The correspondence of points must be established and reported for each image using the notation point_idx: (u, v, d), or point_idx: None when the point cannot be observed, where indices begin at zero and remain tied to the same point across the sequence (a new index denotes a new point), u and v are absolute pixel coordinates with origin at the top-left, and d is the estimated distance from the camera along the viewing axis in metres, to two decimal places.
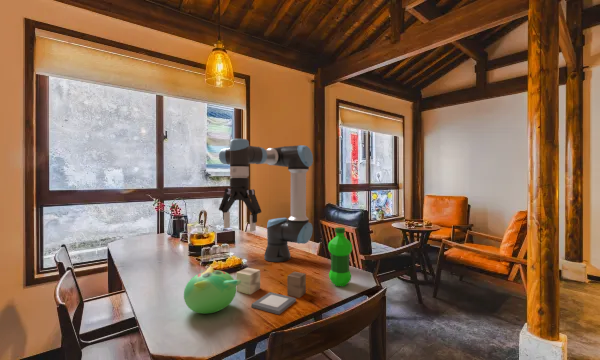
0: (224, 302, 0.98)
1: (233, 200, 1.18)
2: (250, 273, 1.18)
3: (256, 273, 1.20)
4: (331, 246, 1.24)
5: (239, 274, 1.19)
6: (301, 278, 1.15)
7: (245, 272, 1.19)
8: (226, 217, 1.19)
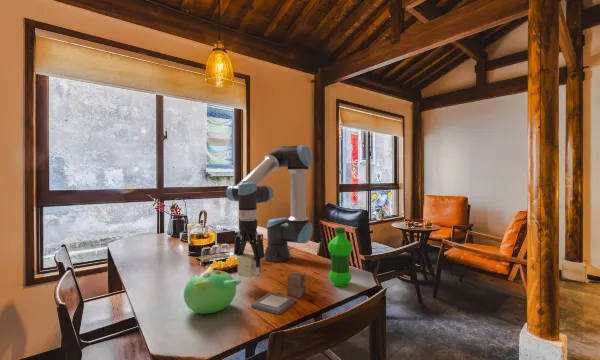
0: (224, 302, 0.98)
1: (245, 242, 1.22)
2: (251, 257, 1.19)
3: None
4: (331, 246, 1.24)
5: (240, 258, 1.19)
6: (301, 278, 1.15)
7: (246, 256, 1.20)
8: None
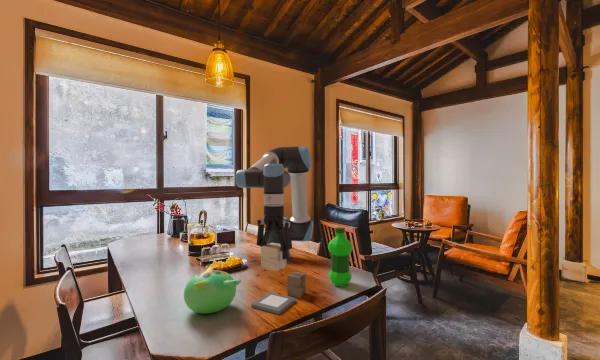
0: (224, 302, 0.98)
1: (269, 231, 1.08)
2: (277, 247, 1.05)
3: None
4: (331, 246, 1.24)
5: (264, 248, 1.05)
6: (301, 278, 1.15)
7: (271, 246, 1.06)
8: None
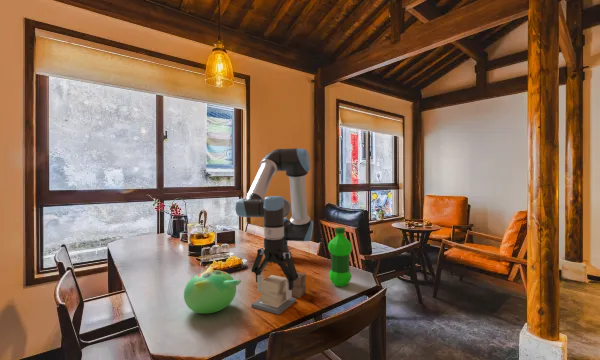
0: (224, 302, 0.98)
1: (267, 262, 1.09)
2: (277, 282, 1.05)
3: (283, 282, 1.07)
4: (331, 246, 1.24)
5: (264, 283, 1.06)
6: (301, 278, 1.15)
7: (271, 280, 1.06)
8: (260, 280, 1.10)
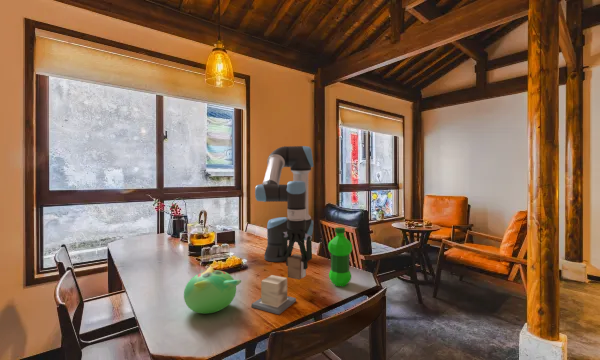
0: (224, 302, 0.98)
1: (293, 243, 1.17)
2: (277, 282, 1.05)
3: (283, 282, 1.07)
4: (331, 246, 1.24)
5: (264, 283, 1.06)
6: (301, 260, 1.15)
7: (271, 280, 1.06)
8: None
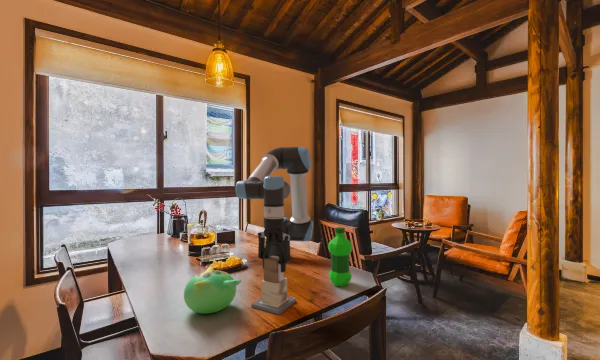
0: (224, 302, 0.98)
1: (270, 243, 1.08)
2: None
3: (283, 282, 1.07)
4: (331, 246, 1.24)
5: (264, 283, 1.05)
6: (279, 262, 1.05)
7: None
8: None
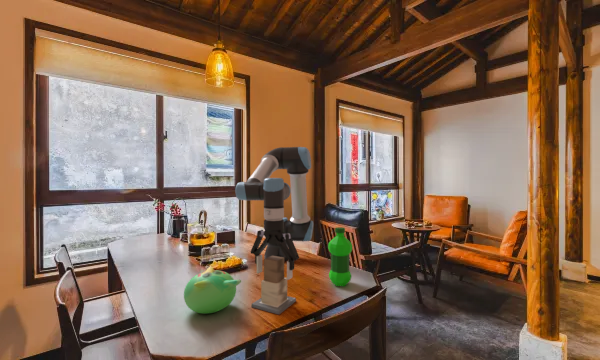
0: (224, 302, 0.98)
1: (267, 243, 1.09)
2: None
3: (283, 282, 1.07)
4: (331, 246, 1.24)
5: (264, 283, 1.06)
6: (279, 262, 1.05)
7: None
8: (259, 261, 1.10)
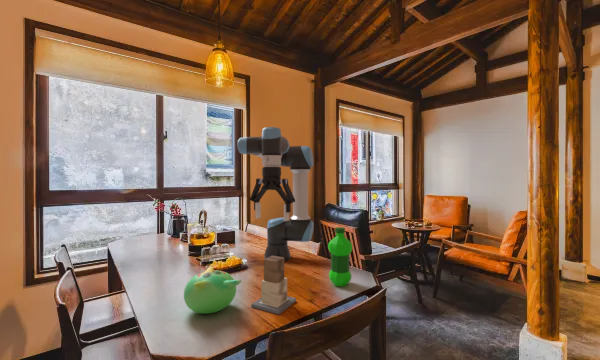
0: (224, 302, 0.98)
1: (265, 190, 1.16)
2: None
3: (283, 282, 1.07)
4: (331, 246, 1.24)
5: (264, 283, 1.06)
6: (279, 262, 1.05)
7: None
8: (258, 207, 1.17)
